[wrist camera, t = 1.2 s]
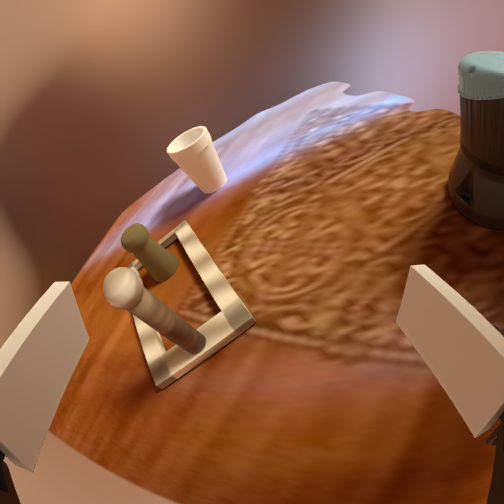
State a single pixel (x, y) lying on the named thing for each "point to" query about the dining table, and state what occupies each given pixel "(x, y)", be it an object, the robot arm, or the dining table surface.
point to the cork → (149, 252)
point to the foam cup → (198, 159)
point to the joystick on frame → (168, 322)
